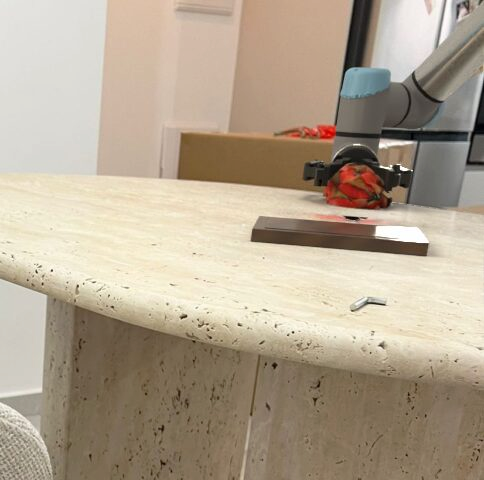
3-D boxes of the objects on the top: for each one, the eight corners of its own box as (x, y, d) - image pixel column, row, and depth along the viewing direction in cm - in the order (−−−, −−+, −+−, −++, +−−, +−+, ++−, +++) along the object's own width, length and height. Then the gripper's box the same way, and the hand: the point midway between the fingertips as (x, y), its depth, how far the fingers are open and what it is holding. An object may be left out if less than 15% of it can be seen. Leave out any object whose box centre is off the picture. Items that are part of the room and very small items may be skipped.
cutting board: (416, 240, 121) (418, 227, 121) (426, 256, 109) (429, 242, 108) (257, 227, 126) (259, 215, 126) (250, 241, 114) (252, 227, 113)
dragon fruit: (334, 223, 148) (369, 246, 137) (300, 189, 144) (333, 211, 134) (375, 179, 145) (414, 200, 135) (341, 144, 141) (378, 163, 131)
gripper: (417, 197, 154) (430, 211, 133) (285, 187, 159) (279, 200, 138) (426, 148, 151) (441, 156, 131) (291, 140, 156) (286, 146, 136)
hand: (358, 178), depth 135 cm, fingers closed on dragon fruit, 8 cm apart
